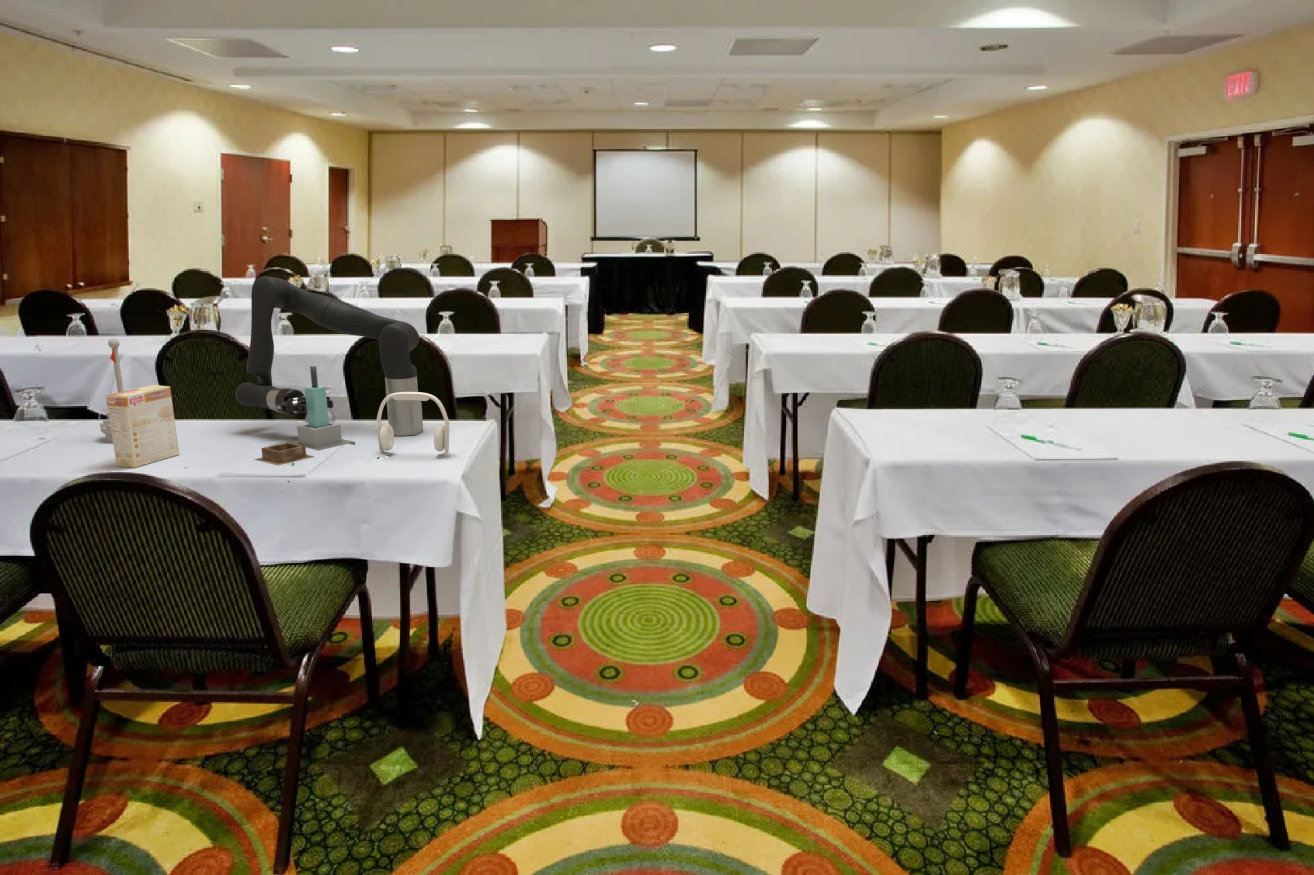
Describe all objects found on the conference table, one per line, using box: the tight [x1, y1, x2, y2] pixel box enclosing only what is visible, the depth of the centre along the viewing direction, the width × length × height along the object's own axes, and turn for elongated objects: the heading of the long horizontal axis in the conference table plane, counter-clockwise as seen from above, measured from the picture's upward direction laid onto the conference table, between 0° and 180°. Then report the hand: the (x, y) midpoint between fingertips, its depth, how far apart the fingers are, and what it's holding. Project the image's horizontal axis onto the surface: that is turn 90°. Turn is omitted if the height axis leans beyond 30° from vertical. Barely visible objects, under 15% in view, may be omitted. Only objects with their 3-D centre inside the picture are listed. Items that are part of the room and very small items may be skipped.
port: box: [285, 421, 356, 451], centre depth 275 cm, size 12×16×6 cm
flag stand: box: [99, 338, 124, 443], centre depth 283 cm, size 13×13×30 cm
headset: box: [375, 391, 450, 459], centre depth 261 cm, size 20×7×18 cm, turn 86°
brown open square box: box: [254, 441, 315, 466], centre depth 258 cm, size 11×11×4 cm
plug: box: [304, 365, 330, 429], centre depth 272 cm, size 4×4×22 cm
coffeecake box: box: [105, 384, 180, 469], centre depth 258 cm, size 15×7×20 cm, turn 159°
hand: (318, 406), depth 272 cm, fingers open, 8 cm apart
